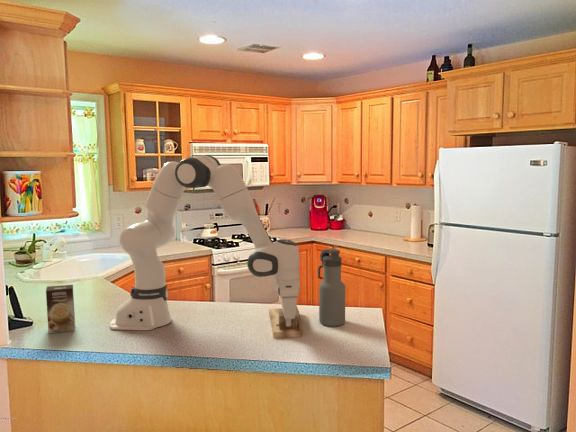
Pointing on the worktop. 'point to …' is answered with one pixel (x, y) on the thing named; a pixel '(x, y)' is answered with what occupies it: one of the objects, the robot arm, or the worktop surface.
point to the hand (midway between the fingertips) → (287, 323)
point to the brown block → (283, 322)
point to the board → (289, 332)
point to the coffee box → (60, 308)
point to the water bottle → (331, 289)
